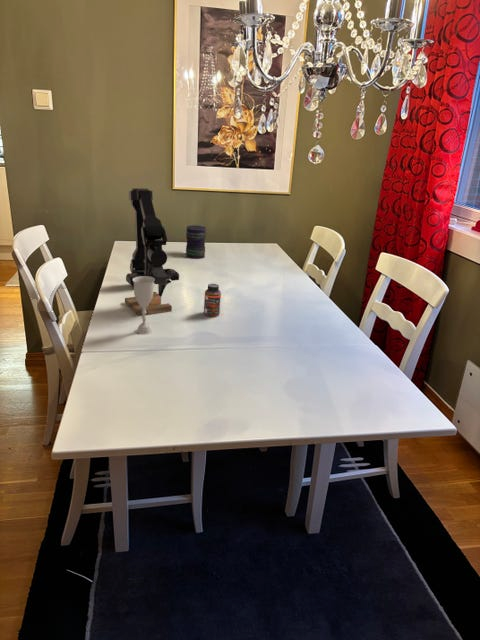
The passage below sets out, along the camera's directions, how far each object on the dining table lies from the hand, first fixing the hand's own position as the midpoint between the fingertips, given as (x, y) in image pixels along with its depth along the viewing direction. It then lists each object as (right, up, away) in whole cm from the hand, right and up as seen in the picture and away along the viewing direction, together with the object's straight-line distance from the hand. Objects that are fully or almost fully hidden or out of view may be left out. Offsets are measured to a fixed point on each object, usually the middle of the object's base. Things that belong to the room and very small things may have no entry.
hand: (153, 298), depth 182 cm
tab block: (0, -3, +1) cm, 3 cm away
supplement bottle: (+22, -6, -2) cm, 23 cm away
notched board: (-2, -3, 0) cm, 4 cm away
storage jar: (+9, +25, +69) cm, 74 cm away
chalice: (+1, -12, -20) cm, 23 cm away
